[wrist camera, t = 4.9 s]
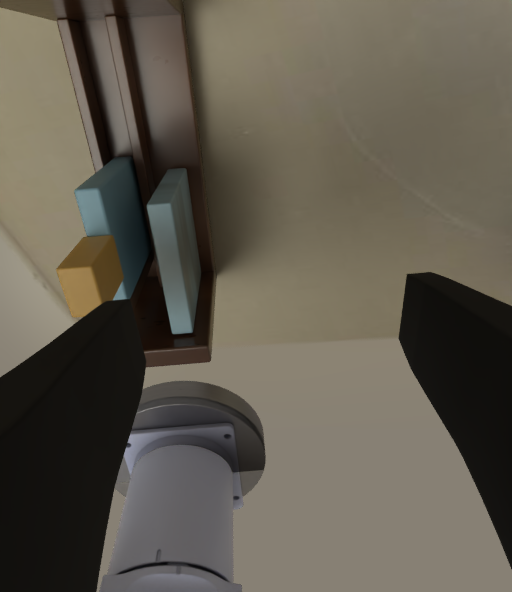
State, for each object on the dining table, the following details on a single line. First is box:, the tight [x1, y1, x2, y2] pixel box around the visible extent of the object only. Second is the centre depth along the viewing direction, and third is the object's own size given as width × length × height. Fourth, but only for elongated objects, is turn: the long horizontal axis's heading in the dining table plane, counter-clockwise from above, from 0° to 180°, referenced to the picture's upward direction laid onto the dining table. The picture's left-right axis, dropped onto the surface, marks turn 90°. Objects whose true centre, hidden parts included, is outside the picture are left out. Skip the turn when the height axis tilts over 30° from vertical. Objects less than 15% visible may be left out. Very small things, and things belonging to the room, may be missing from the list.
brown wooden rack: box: [0, 0, 217, 367], centre depth 15 cm, size 12×4×7 cm, turn 3°
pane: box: [56, 156, 154, 317], centre depth 15 cm, size 5×1×7 cm, turn 3°
